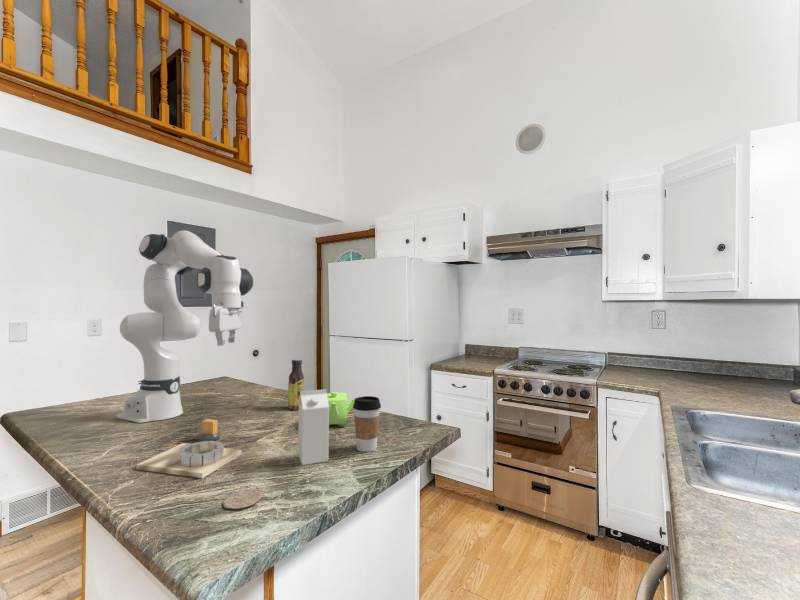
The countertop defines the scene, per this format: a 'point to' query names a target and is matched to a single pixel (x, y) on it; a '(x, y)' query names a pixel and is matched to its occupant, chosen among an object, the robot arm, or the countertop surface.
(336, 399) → the kettle
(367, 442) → the coffee cup
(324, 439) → the milk carton
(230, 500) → the flatbread
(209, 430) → the orange dark-based block
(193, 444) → the faceted grey ring
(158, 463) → the board
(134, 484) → the countertop surface
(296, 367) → the sauce bottle
